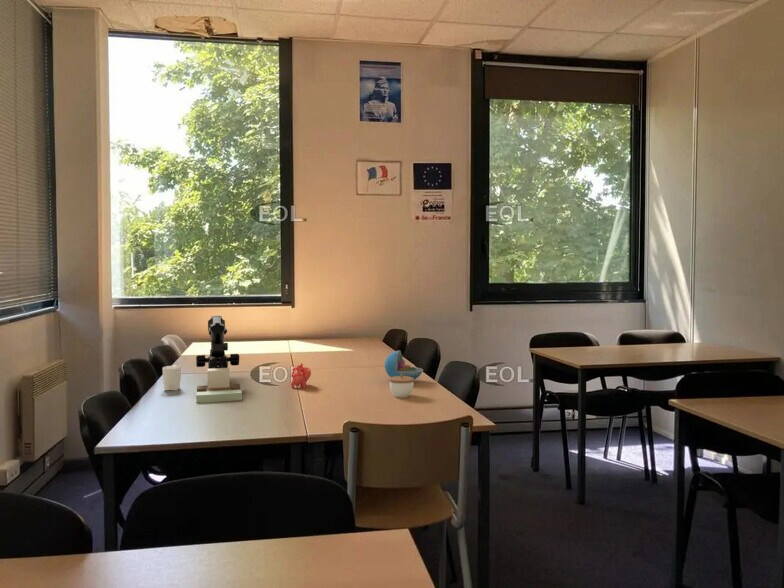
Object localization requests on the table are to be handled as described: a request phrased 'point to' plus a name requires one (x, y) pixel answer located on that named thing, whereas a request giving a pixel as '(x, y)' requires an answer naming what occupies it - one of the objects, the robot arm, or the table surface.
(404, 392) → the lidded jar
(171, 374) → the white cup
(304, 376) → the anatomical heart
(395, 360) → the educational model
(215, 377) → the cream block
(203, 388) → the strip
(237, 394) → the pad
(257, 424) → the table surface
